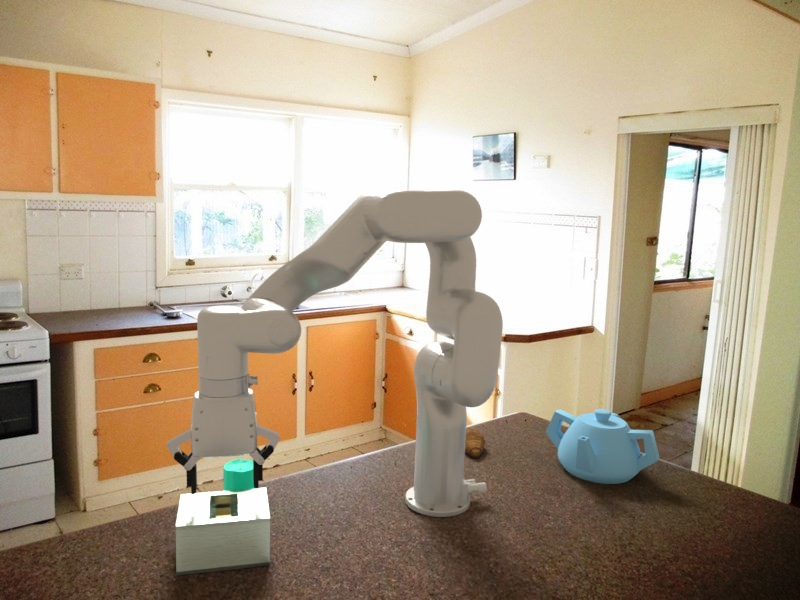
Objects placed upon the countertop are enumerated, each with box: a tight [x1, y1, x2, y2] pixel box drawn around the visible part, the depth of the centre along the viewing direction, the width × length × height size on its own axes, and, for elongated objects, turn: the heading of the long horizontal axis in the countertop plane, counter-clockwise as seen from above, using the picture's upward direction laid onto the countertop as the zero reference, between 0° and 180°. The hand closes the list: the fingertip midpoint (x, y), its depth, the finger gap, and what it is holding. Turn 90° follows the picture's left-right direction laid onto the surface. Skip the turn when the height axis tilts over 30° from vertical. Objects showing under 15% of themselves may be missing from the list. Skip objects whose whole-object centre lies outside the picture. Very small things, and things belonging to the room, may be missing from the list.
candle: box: [223, 458, 254, 491], centre depth 114 cm, size 6×6×12 cm
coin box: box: [175, 486, 271, 576], centre depth 104 cm, size 14×11×8 cm
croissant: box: [465, 428, 486, 459], centre depth 153 cm, size 14×7×5 cm, turn 5°
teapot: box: [545, 408, 660, 485], centre depth 142 cm, size 19×19×14 cm
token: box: [216, 507, 231, 518], centre depth 106 cm, size 2×5×5 cm
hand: (225, 487), depth 103 cm, fingers open, 9 cm apart
